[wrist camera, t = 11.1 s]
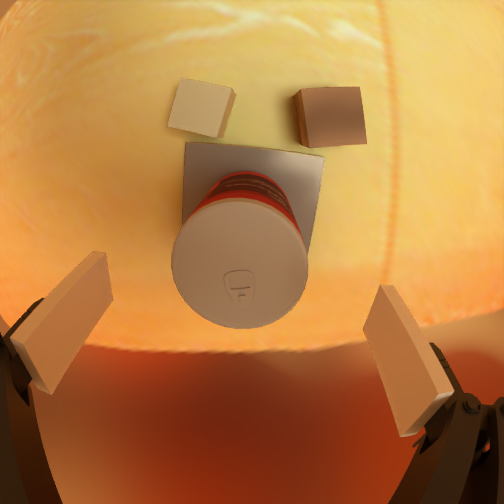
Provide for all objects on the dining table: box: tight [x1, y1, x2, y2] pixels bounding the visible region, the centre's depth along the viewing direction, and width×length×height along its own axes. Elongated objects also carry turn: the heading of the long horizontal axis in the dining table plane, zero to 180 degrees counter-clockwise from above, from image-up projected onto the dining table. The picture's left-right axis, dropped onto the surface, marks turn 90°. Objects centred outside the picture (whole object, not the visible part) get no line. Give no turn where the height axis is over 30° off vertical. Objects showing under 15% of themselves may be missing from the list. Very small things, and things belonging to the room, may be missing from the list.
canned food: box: [171, 171, 308, 329], centre depth 20 cm, size 8×8×11 cm
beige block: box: [167, 78, 236, 138], centre depth 21 cm, size 4×4×4 cm
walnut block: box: [294, 87, 367, 148], centre depth 20 cm, size 4×4×4 cm
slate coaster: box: [182, 142, 325, 255], centre depth 26 cm, size 12×12×1 cm
